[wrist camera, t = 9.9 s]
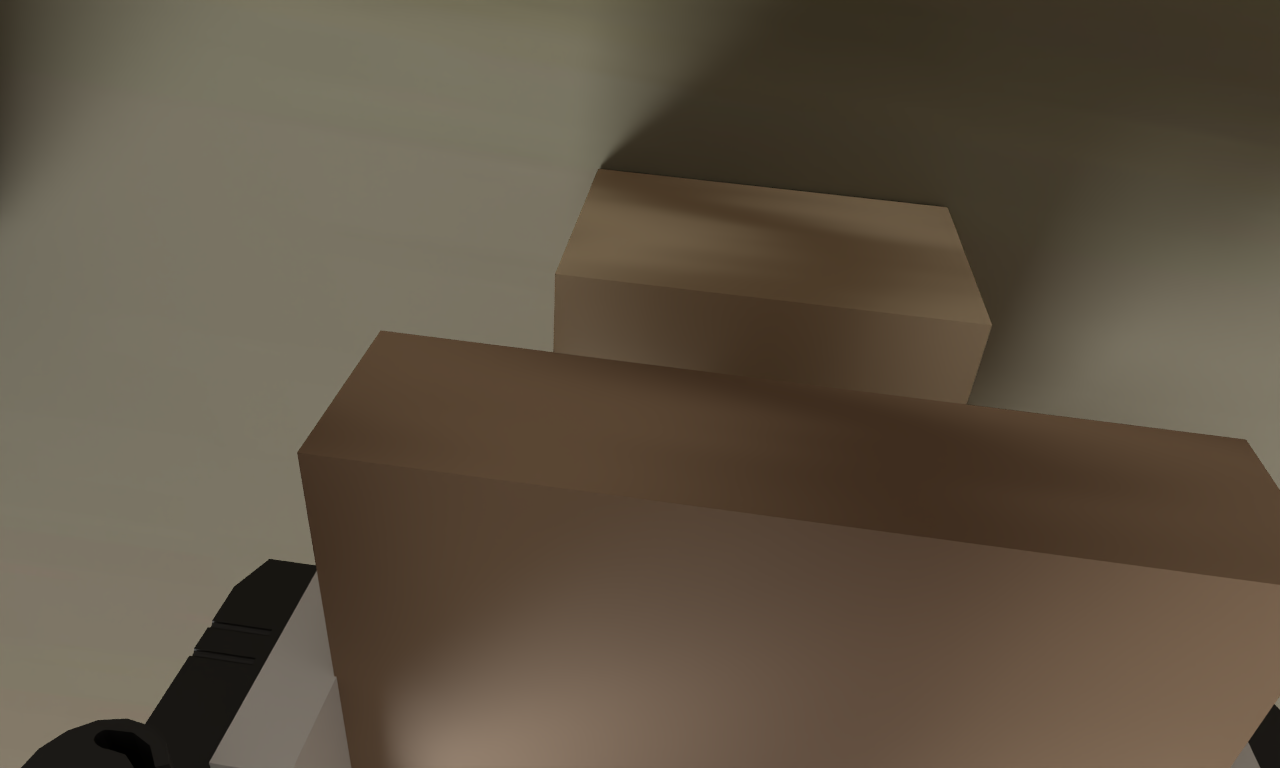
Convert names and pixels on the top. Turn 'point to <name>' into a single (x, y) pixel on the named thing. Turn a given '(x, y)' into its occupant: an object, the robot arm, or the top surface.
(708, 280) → the block
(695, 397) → the lid
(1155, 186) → the top surface
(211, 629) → the robot arm
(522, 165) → the top surface
